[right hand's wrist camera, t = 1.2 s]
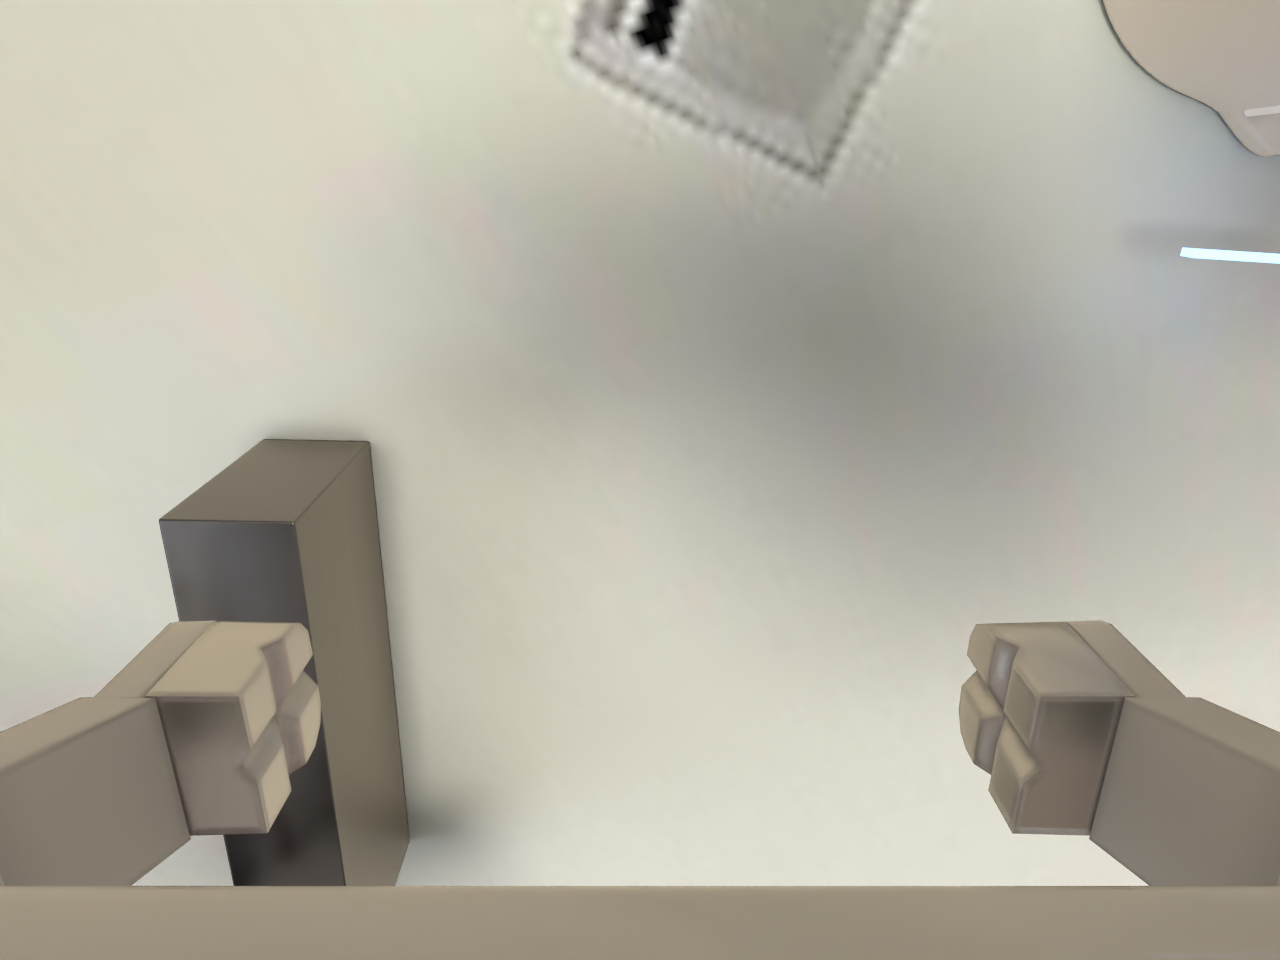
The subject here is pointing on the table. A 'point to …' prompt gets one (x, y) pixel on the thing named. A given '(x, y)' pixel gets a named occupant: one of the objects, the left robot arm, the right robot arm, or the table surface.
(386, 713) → the bar
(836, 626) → the table surface
